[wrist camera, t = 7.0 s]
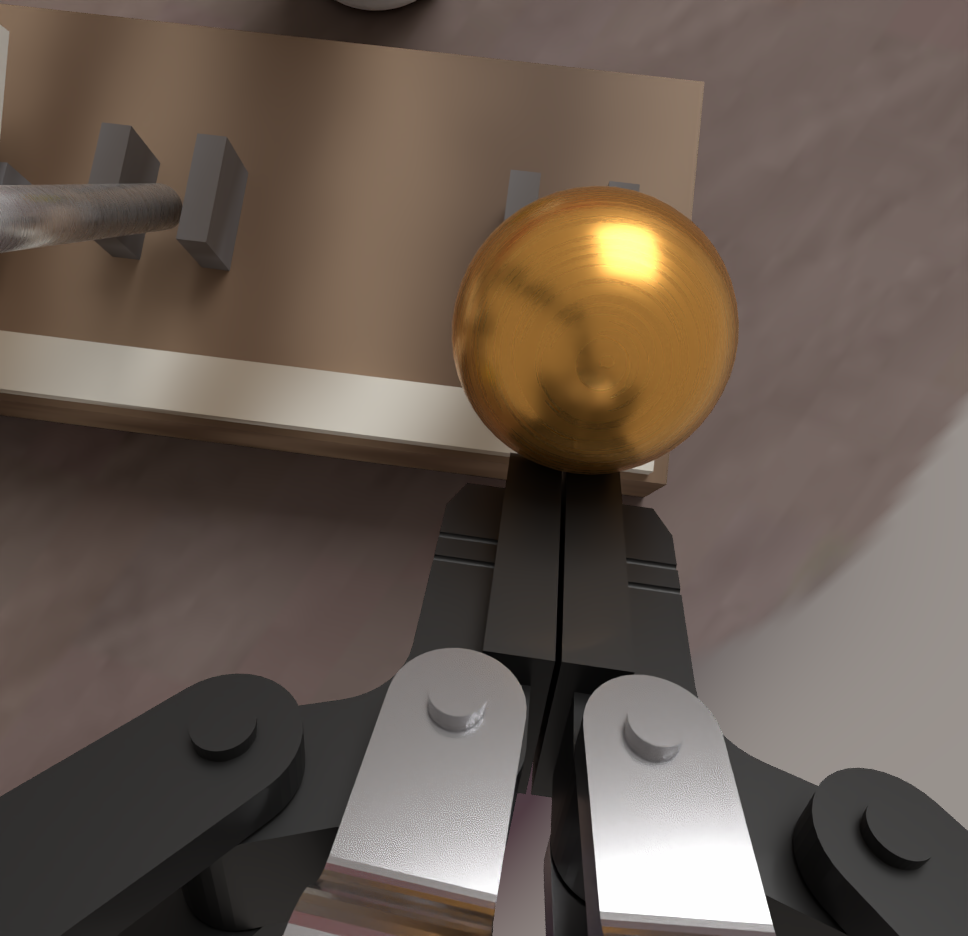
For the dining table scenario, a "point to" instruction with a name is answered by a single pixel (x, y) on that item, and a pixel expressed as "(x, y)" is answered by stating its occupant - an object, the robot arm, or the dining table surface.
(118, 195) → the lever black
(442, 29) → the dining table surface
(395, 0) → the supplement bottle
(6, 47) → the block
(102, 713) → the dining table surface
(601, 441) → the lever orange
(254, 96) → the panel
